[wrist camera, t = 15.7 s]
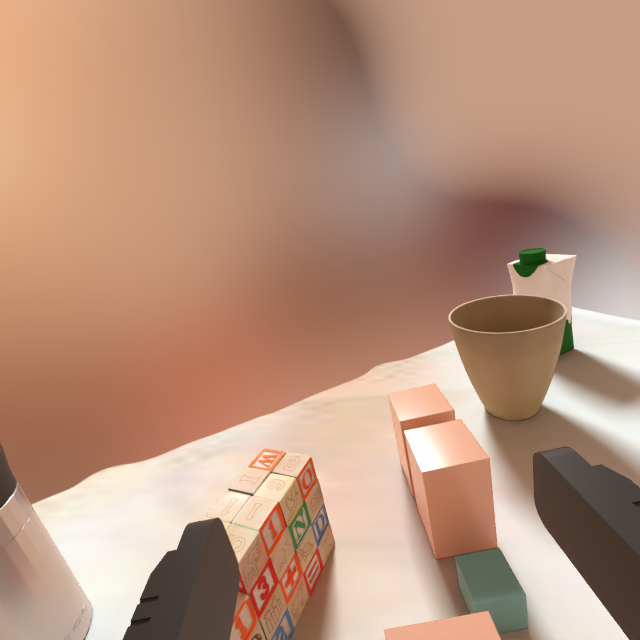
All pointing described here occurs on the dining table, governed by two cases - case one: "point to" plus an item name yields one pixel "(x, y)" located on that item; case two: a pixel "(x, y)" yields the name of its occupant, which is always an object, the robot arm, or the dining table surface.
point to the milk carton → (546, 281)
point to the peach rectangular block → (417, 417)
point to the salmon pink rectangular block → (448, 629)
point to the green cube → (492, 589)
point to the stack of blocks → (275, 542)
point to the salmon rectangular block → (452, 488)
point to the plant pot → (510, 350)
